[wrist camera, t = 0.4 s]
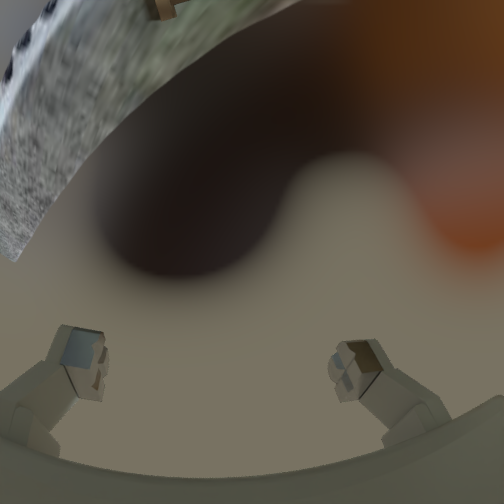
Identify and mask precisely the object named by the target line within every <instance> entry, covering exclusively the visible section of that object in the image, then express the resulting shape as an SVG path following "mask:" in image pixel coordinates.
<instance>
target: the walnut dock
mask: <svg viewBox="0 0 504 504" xmlns="http://www.w3.org/2000/svg"><path fill="white" fill-rule="evenodd" d="M186 1H189V0H155V2H156V5H157V9H158V12H159V15H160V18H161V22H162V21H165V20H168V19H171V18H174V17H177V14H176V11H175V7H174V5H176V4H179V3H182V2H186Z"/></svg>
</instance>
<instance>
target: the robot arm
mask: <svg viewBox="0 0 504 504" xmlns="http://www.w3.org/2000/svg"><path fill="white" fill-rule="evenodd" d="M104 343H105V336H104V333H103V332H101V331H95V330H89V329H84V328H79V327H73V326H68V325H63V324H62V325H61V326H60V327H59V328H58V330H57V332H56V335H55V337H54V339H53V342H52V344H51V347H50V349H49V352H48V354H47V357H46V360H45V361H42V360H41V361H40V362H38V363H37V364H36V365H34V366H33V367H32V368H30V369H29V370H28V371H26V372H25V373H24V374H22V375H21V376H20V377H18V378H17V379H16V380H14V381H13V382H12V383H11V384H9V385H8V386H7V387H6V388H4V389H3V390H2V391H0V504H504V396H503V395H496V396H494V397H492V398H490V399H489V400H487V401H486V402H484V403H482V404H480V405H479V406H477V407H475V408H474V409H472V410H470V411H468V412H467V413H464V414H463V415H461V416H459V417H457V418H455V419H453V420H452V418H451V417H450V415H449V413H448V411H447V409H446V408H445V406H444V404H443V402H442V401H441V399H440V397H439V396H438V395H436V394H435V393H433V392H432V391H430V390H429V389H427V388H426V387H424V386H423V385H421V384H420V383H418V382H417V381H415V380H414V379H412V378H411V377H409V376H408V375H406V374H405V373H403V372H402V371H401V370H399V369H395V368H394V367H393V365H392V363H391V362H390V360H389V358H388V357H387V355H386V353H385V352H384V350H383V348H382V347H381V345H380V344H379V342H378V341H377V340H376V339H366V340H352V341H342V342H340V343H339V344H338V346H337V347H336V349H337V353H335V354H334V355H332V356H331V358H330V360H329V363H328V373H329V376H330V379H331V380H332V381H333V382H335V383H336V386H335V391H336V394H337V396H338V398H339V401H340V402H347V401H354V400H359V402H360V403H361V404H362V405H364V406H365V407H366V408H367V409H368V410H369V411H370V412H371V413H372V414H373V415H374V416H376V418H378V419H379V420H380V421H381V422H382V423H383V424H384V425H385V426H386V427H387V428H389V431H388V432H387V433H386V434H385V435H383V437H382V439H381V440H382V442H383V444H384V447H385V448H384V449H381V450H378V451H375V452H372V453H368V454H365V455H361V456H358V457H355V458H351V459H348V460H343V461H340V462H335V463H331V464H326V465H322V466H318V467H313V468H307V469H302V470H296V471H289V472H282V473H275V474H266V475H257V476H245V477H227V478H182V477H165V476H153V475H143V474H135V473H127V472H121V471H115V470H109V469H103V468H99V467H94V466H89V465H85V464H81V463H77V462H73V461H69V460H65V459H61V458H59V454H60V445H59V443H58V442H57V441H56V440H55V439H54V437H53V436H52V435H51V434H50V433H49V432H50V431H51V430H52V429H53V428H54V426H55V425H56V424H57V423H58V422H59V421H60V420H61V419H62V417H63V416H64V415H65V414H66V413H67V412H68V411H69V410H70V409H71V407H72V406H73V405H74V404H75V403H76V402H77V401H78V398H81V399H87V400H94V401H100V402H102V398H103V393H104V388H105V384H104V381H103V378H104V377H105V376H106V375H107V373H108V367H109V366H108V365H109V354H108V349H107V348H106V347H105V346H104Z"/></svg>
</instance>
